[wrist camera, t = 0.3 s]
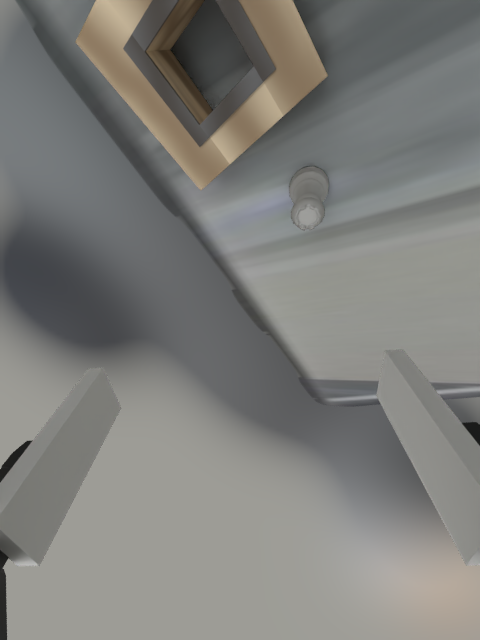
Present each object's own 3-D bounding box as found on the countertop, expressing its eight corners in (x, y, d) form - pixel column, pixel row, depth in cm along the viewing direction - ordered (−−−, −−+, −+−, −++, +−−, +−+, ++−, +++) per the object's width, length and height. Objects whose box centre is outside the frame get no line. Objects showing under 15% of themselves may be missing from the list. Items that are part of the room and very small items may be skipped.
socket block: (219, -148, 19) (195, -207, 14) (322, 70, 25) (328, 76, 21) (110, 41, 26) (73, 41, 22) (212, 171, 33) (200, 191, 28)
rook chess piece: (293, 208, 35) (289, 243, 29) (285, 171, 32) (279, 202, 26) (331, 199, 33) (334, 233, 28) (326, 159, 30) (328, 189, 25)
